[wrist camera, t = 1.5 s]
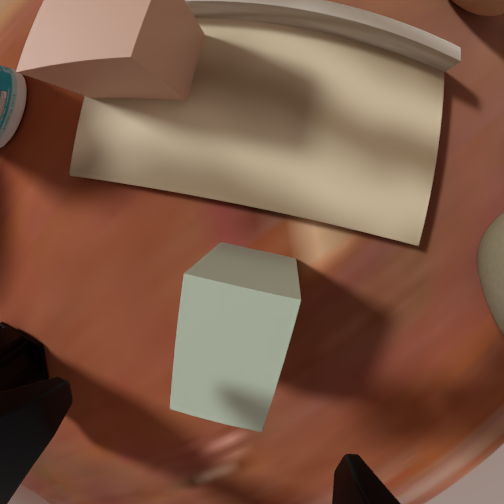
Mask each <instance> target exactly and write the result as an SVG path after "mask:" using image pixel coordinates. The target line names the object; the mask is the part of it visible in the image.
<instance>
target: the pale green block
mask: <svg viewBox="0 0 504 504" xmlns="http://www.w3.org/2000/svg"><path fill="white" fill-rule="evenodd" d="M300 303H301V294H300V286H299V278H298V270H297V262H296V258H292V257H287V256H282V255H278V254H273V253H269V252H264V251H259V250H255V249H250V248H246V247H241V246H236V245H232V244H227V243H222V242H221V243H219V244H218V245H217V246H216V247H215V248H213V249H212V250H211V251H210V252H209V253H208V254H206V255H205V256H204V257H203V258H202V259H200V260H199V261H198V262H197V263H196V264H195V265H193V266H192V267H191V268H190V269H189V270H187V271H186V272H185V273H184V277H183V284H182V292H181V300H180V308H179V316H178V325H177V334H176V343H175V353H174V363H173V375H172V387H171V400H170V409H172V410H175V411H179V412H182V413H185V414H189V415H192V416H196V417H199V418H203V419H207V420H211V421H215V422H219V423H223V424H227V425H231V426H236V427H240V428H245V429H250V430H255V431H260V432H262V429H263V426H264V423H265V420H266V417H267V414H268V411H269V408H270V405H271V402H272V399H273V396H274V392H275V389H276V386H277V383H278V379H279V376H280V373H281V370H282V366H283V363H284V360H285V356H286V353H287V349H288V346H289V342H290V339H291V335H292V332H293V328H294V325H295V321H296V317H297V314H298V310H299V306H300Z"/></svg>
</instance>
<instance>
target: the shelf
mask: <svg viewBox="0 0 504 504" xmlns="http://www.w3.org/2000/svg"><path fill="white" fill-rule="evenodd" d="M185 2H186V4H187V5H188V7H189V8H190V10H191V12H192V13H193V15H194V17H195V18H196V20H197V22H198V24H199V25H200V27H201V29H202V30H203V32H204V34H205V36H204V40H203V43H202V47H201V50H200V54H199V57H198V61H197V65H196V68H195V72H194V76H193V80H192V84H191V88H190V92H189V96H188V100H187V101H177V100H162V99H142V98H88V97H86V96H85V97H84V101H83V105H82V109H81V113H80V118H79V122H78V127H77V132H76V137H75V142H74V148H73V154H72V160H71V166H70V173H69V176H76V177H83V178H90V179H97V180H104V181H110V182H117V183H123V184H130V185H136V186H142V187H148V188H154V189H160V190H166V191H171V192H177V193H182V194H188V195H193V196H199V197H204V198H210V199H215V200H220V201H225V202H230V203H235V204H240V205H245V206H250V207H255V208H260V209H265V210H269V211H274V212H279V213H283V214H288V215H293V216H297V217H302V218H306V219H310V220H315V221H319V222H324V223H328V224H332V225H336V226H341V227H345V228H349V229H353V230H357V231H361V232H365V233H370V234H374V235H378V236H381V237H385V238H389V239H393V240H397V241H401V242H405V243H409V244H412V245H416V246H419V242H420V238H421V234H422V230H423V226H424V222H425V218H426V213H427V209H428V204H429V199H430V194H431V189H432V183H433V178H434V172H435V166H436V159H437V152H438V145H439V137H440V129H441V119H442V107H443V93H444V72H446V71H447V70H449V69H450V68H452V67H453V66H455V65H456V64H458V63H459V62H460V61H461V49H460V47H458V46H456V45H454V44H452V43H450V42H448V41H446V40H444V39H442V38H439V37H437V36H435V35H433V34H430V33H428V32H425V31H423V30H421V29H418V28H416V27H413V26H410V25H408V24H405V23H402V22H400V21H397V20H394V19H391V18H388V17H385V16H382V15H379V14H376V13H372V12H369V11H366V10H362V9H358V8H355V7H351V6H347V5H343V4H339V3H335V2H330V1H325V0H185Z"/></svg>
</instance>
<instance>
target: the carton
mask: <svg viewBox="0 0 504 504" xmlns="http://www.w3.org/2000/svg"><path fill="white" fill-rule="evenodd" d="M204 36H205V34H204V32H203V30H202V29H201V27H200V25H199V24H198V22H197V20H196V18H195V17H194V15H193V13H192V12H191V10H190V8H189V7H188V5H187V4H186V2H185V0H44V1H43V3H42V5H41V8H40V10H39V12H38V14H37V16H36V19H35V21H34V23H33V26H32V28H31V31H30V33H29V36H28V38H27V41H26V44H25V46H24V49H23V52H22V55H21V58H20V61H19V64H18V67H17V70H16V73H19V74H23V75H26V76H29V77H32V78H35V79H38V80H41V81H44V82H47V83H50V84H53V85H55V86H58V87H61V88H64V89H67V90H69V91H72V92H75V93H78V94H80V95H83V96H86V97H88V98H142V99H162V100H177V101H187V100H188V96H189V92H190V88H191V84H192V80H193V76H194V72H195V68H196V65H197V61H198V57H199V54H200V50H201V47H202V43H203V40H204Z"/></svg>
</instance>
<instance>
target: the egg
mask: <svg viewBox="0 0 504 504" xmlns="http://www.w3.org/2000/svg"><path fill="white" fill-rule="evenodd" d="M452 1H453V2H454V3H455V4H456V5H458V6H460V7H461V8H463V9H465V10H467V11H469V12H471V13H474V14H478V15H482V16H497V15H501V14H504V0H452Z"/></svg>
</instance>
